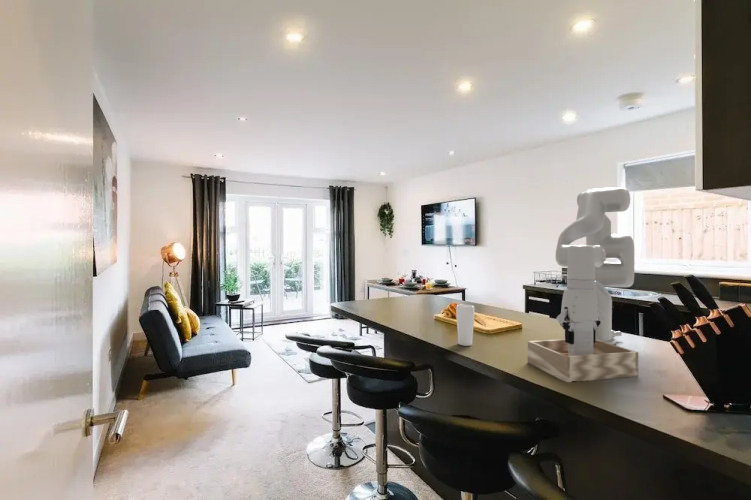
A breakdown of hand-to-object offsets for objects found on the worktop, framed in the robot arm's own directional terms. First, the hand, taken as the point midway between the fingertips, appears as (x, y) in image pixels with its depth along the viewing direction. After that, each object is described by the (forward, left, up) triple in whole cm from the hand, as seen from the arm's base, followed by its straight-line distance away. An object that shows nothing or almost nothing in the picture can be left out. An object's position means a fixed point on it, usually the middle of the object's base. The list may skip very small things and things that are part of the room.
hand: (580, 342), depth 117 cm
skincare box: (0, 0, -5) cm, 5 cm away
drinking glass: (+22, -34, -9) cm, 41 cm away
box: (0, 0, -8) cm, 8 cm away
